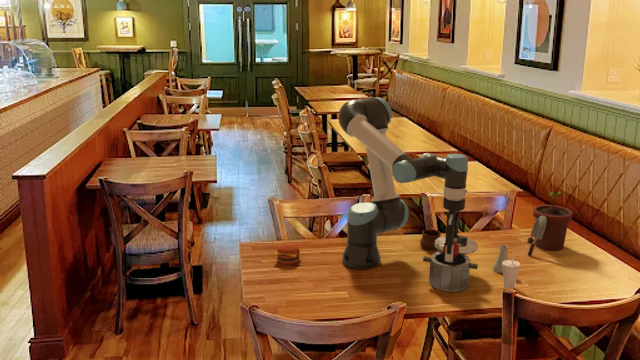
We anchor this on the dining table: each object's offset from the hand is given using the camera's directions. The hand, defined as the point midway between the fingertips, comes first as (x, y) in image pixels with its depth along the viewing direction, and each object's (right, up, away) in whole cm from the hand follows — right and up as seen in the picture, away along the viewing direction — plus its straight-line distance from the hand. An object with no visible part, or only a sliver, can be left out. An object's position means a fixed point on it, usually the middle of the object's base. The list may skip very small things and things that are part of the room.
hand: (450, 257), depth 227 cm
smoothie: (+21, -11, 0) cm, 24 cm away
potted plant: (+47, 0, +37) cm, 60 cm away
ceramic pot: (-1, 0, +37) cm, 37 cm away
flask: (+23, -7, +15) cm, 28 cm away
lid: (+4, +3, +11) cm, 12 cm away
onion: (0, 0, 0) cm, 0 cm away
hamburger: (-60, -4, +23) cm, 65 cm away
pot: (0, -10, +3) cm, 10 cm away
